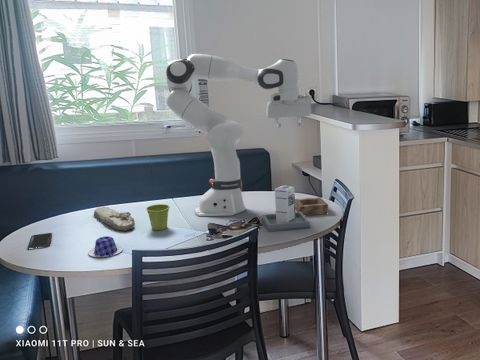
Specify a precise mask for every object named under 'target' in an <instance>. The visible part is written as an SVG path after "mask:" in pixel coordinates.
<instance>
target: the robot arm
mask: <svg viewBox="0 0 480 360" xmlns="http://www.w3.org/2000/svg"><path fill="white" fill-rule="evenodd" d="M297 65H298V64H297V63H296V62H295V60H292V59H288V58H280V59H279V60H277V61H276V62H275V63H273V64H271V65H269V66H265V67H261V68H252V67H248V66H244V65H243V66H242V65H238V64H236V63H234V62H232V61H230V60H228V59H227V58H225V57H224V58H223V57H221V56H218V55H213V54H205V53H193V54H190V55H189V56H188V57H187V58H182V59H174V60H172V61H171V62H169V63H168V64H167V67H166V70H165V73H166V83H167V86H168V90H169V94H168V95H167V98H166V105H167V106H168V108H169V109H170V110H171V111H172V112H173V113H174V115H175V114H176V116H178V117H179V118H180V119H181V120H183V122H185V123H186V124H188V125H189V126H191V127H192V128H193V129H195V130H196V131H199V132H202V133H205V134H206V143H207V145H208V146H209V147H210V151H211V155H212V160H213V165H214V178H210V179H209V184H210V187H211V188H210V189H208V190H207V191H206V192H205V193H204V194H202V195H201V196H200V199H199V203H198V206H196V207H195V209H194V214H195V215H196V216H198V217H223V216H224V217H227V216H229V217H230V216H235V215H236V214H239V213H242V212H244V211H245V210H246V206H245V203H244V200H243V199H244V198H243V193H242V191H243V182H242V177H241V163H240V162H241V161H240V158H239V156H238V154H237V150H236V144H238V143H239V142H240V141H241V139H242V136H243V135H244V133H243V132H244V130H243V127H242V125H241V124H240V123H239V122H237V121H235V120H232V119H231V118H229V117H227V116H225V115H223V114H222V113H220V112H218V111H217V110H215V109H212V108H211V107H210V106H208V105H207V104H205V103H204V102H202V101H201V100H200V99H199V98H197V97H195V96H194V95H192V94H191V91H192V88H193V81H194V80H206V81H212V82H226V81H233V80H234V81H235V80H236V81H237V80H238V81H239V80H240V81H244V82H249V83H254V84H257V85H258V86H259V87H260V88H262V89H264V90H273V89H275V88H278V92H276V93H274V94H271V95H269V96H268V101H267V104H266V112H265V113H266V117H267V118H269V119H273V118H274V121H275V123H276V127H277V129H278V128H281V127H282V124H281V123H280V122H279V121H278V120H279V118H292V117H299V121H297V123H296V124H297V125H296V126H297V127H302V122H303V120H304V118H305V117H306V116H307V117H309V116H310V115H312V107H311V104H312V98H311V97H312V96H310V95H307V94H305V95H302V94H300V95H299V87H298V81H299V74H298V73H299V72H298V66H297Z"/></svg>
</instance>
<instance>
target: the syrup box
mask: <svg viewBox="0 0 480 360" xmlns="http://www.w3.org/2000/svg"><path fill="white" fill-rule="evenodd" d="M295 195H296V194H295V186H292V185H281V186H277V187H275V188H274V197H275V198H274V199H275V200H274V201H275V202H274V203H275V214H276V223H278V224H281V223H293V222H295V221H296V220H295V212H296V210H295V199H296V198H295Z"/></svg>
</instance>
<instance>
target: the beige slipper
mask: <svg viewBox="0 0 480 360" xmlns="http://www.w3.org/2000/svg"><path fill="white" fill-rule="evenodd" d="M93 215H94V216H95V217H96V219H98V220H100V221H101V222H102V223H103V224H106V225H107V226H109V227H110V228H112V229H114V230H116V231H117V230H118V231H129V230H132V229H134V226H135V225H136V224H135V219H134V218H133V217H132V216H131V212H130V211H127V212H125V211H124V212H119V211H116V210H114V209H113V208H110V207H108V206H107V207H106V206H102V207H98V208H96V209H94V212H93Z"/></svg>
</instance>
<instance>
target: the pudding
mask: <svg viewBox="0 0 480 360" xmlns="http://www.w3.org/2000/svg"><path fill="white" fill-rule="evenodd" d="M117 248H119V252H118V249H117ZM123 250H124V247H123V246H122V245H119V244H116V242H115V239H114V237H112V236H106V235H105V236H100V237H98V238H97V239H96V240H95V244H94V247H93V248H91V249H90V250H89V251H88V255H89V256H90V257H95V258H106V257H108V256H109V255H110V256H109V257H111V256H112V257H113V256H115V255H118V254H119V253H120V254H121V252H122V251H123ZM93 253H94V254H93ZM111 254H113V255H111ZM95 255H99V256H95ZM105 255H106V256H105ZM101 256H102V257H101Z"/></svg>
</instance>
